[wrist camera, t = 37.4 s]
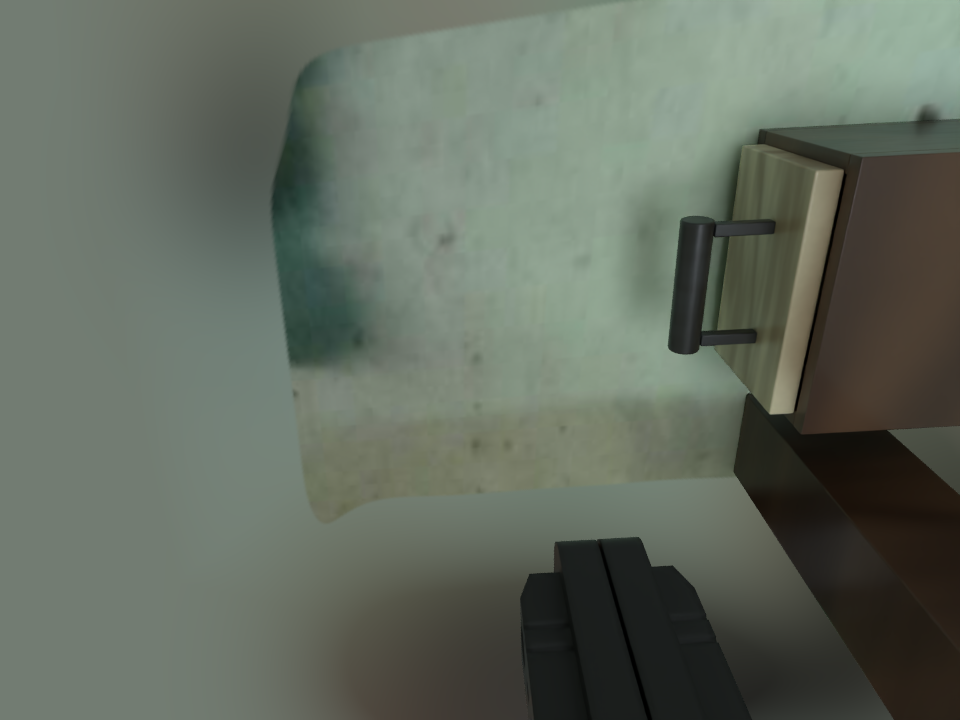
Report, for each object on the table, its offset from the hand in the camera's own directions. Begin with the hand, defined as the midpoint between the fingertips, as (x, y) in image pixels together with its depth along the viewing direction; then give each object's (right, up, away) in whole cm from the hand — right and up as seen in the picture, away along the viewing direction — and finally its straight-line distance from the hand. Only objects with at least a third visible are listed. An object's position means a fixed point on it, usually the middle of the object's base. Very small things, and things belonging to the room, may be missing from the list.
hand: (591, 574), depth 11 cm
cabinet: (+20, +10, +23) cm, 32 cm away
